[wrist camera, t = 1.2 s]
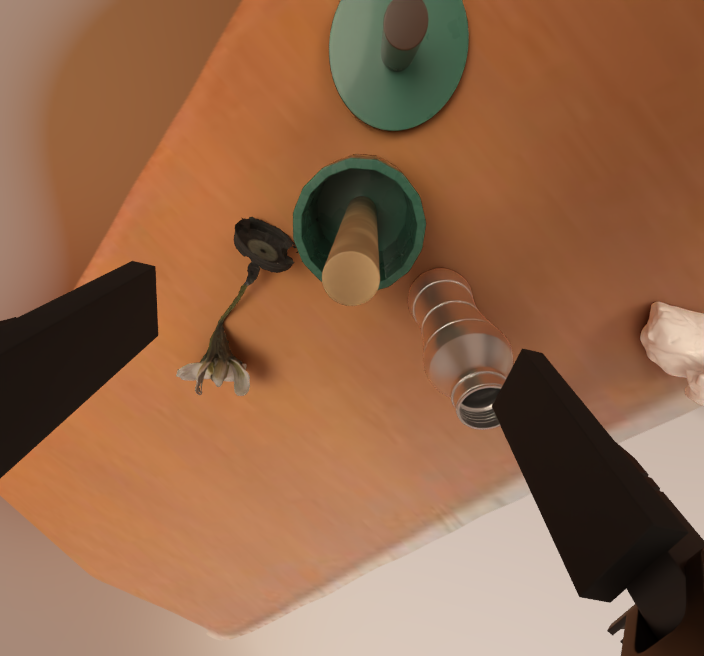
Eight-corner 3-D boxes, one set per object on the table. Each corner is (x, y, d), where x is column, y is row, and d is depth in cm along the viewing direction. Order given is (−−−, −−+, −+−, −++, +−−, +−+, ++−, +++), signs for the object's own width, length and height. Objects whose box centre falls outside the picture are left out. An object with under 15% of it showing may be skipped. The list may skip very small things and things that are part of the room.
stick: (377, 197, 35) (383, 253, 17) (374, 227, 36) (376, 308, 19) (347, 194, 35) (322, 248, 17) (346, 225, 36) (320, 304, 19)
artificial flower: (318, 246, 39) (322, 300, 32) (238, 365, 51) (228, 426, 44) (241, 205, 35) (226, 257, 28) (173, 345, 47) (150, 407, 40)
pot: (420, 158, 34) (435, 164, 25) (405, 263, 38) (414, 297, 30) (312, 150, 34) (291, 153, 25) (310, 256, 39) (293, 287, 30)
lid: (479, -32, 27) (525, -107, 19) (450, 135, 33) (476, 133, 24) (333, -42, 27) (316, -119, 19) (328, 126, 33) (313, 121, 25)
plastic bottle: (396, 278, 39) (416, 389, 22) (454, 251, 38) (527, 348, 20) (418, 324, 42) (452, 457, 24) (474, 301, 40) (553, 426, 22)
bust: (615, 300, 41) (612, 385, 36) (695, 271, 35) (704, 371, 30) (682, 348, 44) (688, 434, 39) (769, 330, 37) (788, 431, 32)
